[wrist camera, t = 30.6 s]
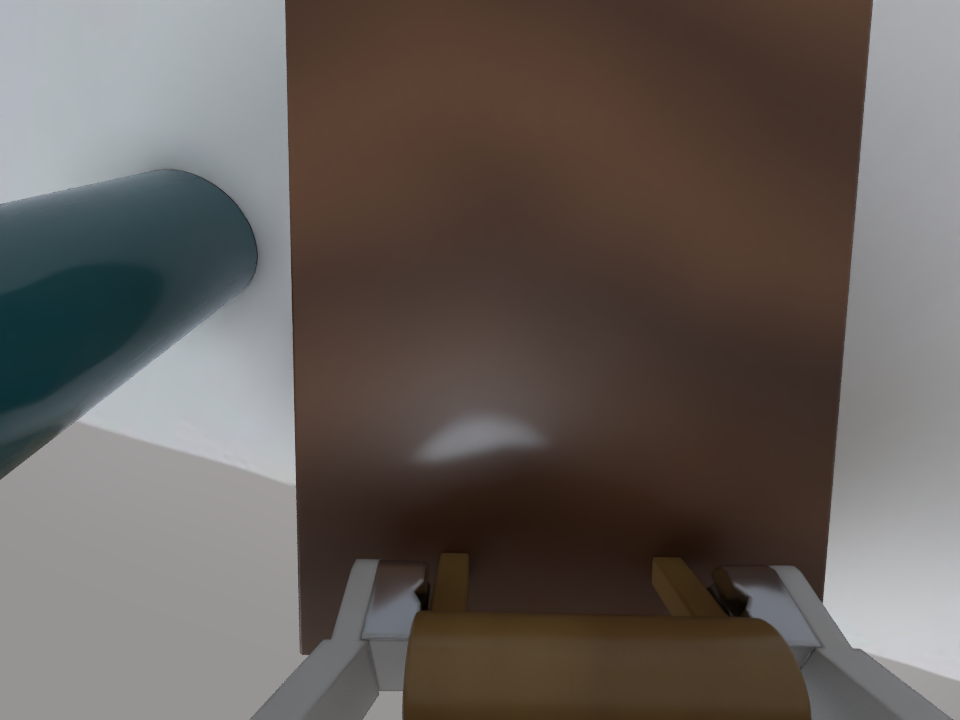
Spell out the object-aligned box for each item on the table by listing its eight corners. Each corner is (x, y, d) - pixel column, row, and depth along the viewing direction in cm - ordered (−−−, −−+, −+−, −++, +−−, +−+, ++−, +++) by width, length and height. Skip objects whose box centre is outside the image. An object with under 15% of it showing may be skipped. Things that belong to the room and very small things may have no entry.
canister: (273, 214, 17) (-126, 431, 6) (238, 322, 20) (-98, 623, 8) (130, 140, 16) (-702, 238, 5) (111, 263, 18) (-483, 525, 7)
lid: (796, 644, 12) (1026, 884, 7) (311, 634, 12) (184, 860, 7) (850, -37, 10) (1192, -372, 5) (297, -39, 10) (125, -366, 5)
